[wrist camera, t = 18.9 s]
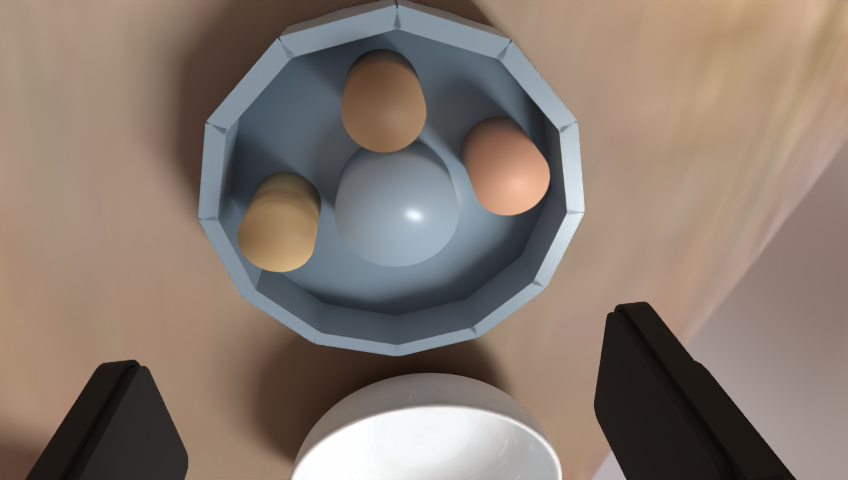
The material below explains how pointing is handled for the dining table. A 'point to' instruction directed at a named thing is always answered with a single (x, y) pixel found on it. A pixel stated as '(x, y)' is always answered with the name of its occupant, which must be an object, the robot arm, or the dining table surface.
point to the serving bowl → (427, 434)
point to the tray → (321, 143)
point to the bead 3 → (504, 166)
